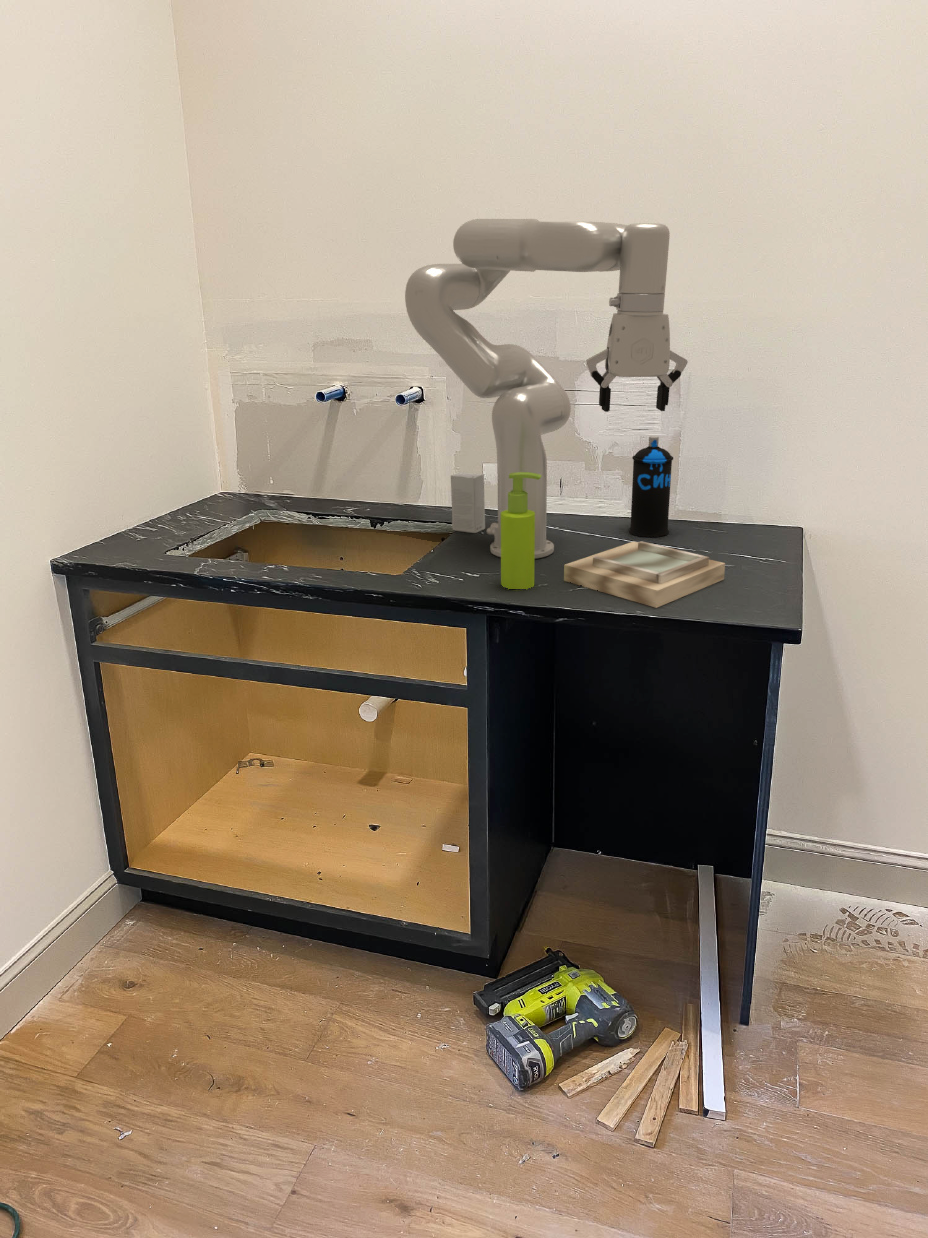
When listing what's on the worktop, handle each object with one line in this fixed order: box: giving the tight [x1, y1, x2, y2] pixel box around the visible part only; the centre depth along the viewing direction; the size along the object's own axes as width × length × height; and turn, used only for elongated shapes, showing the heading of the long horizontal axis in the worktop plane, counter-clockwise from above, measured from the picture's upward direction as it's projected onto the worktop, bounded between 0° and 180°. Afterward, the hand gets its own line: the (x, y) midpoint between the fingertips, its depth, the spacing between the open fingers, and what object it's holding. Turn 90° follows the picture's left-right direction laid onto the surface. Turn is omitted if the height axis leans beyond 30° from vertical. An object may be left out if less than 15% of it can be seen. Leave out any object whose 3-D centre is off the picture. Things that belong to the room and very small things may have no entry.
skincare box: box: [450, 471, 486, 534], centre depth 192 cm, size 6×4×12 cm
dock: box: [563, 540, 726, 609], centre depth 159 cm, size 20×20×4 cm
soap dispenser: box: [500, 472, 542, 590], centre depth 156 cm, size 6×7×20 cm
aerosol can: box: [628, 435, 674, 538], centre depth 185 cm, size 8×8×20 cm
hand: (632, 410), depth 155 cm, fingers open, 9 cm apart
